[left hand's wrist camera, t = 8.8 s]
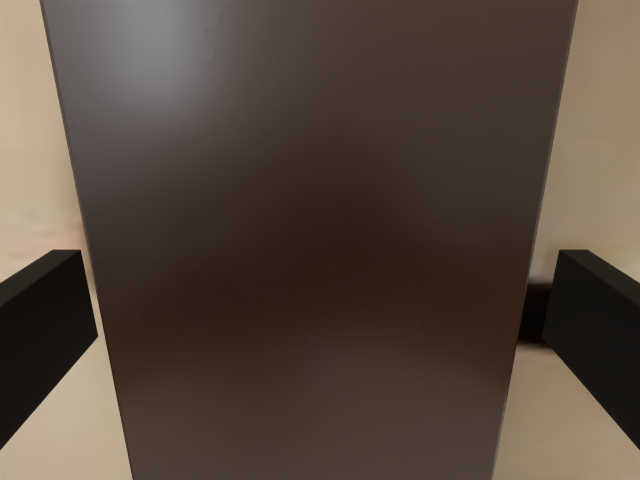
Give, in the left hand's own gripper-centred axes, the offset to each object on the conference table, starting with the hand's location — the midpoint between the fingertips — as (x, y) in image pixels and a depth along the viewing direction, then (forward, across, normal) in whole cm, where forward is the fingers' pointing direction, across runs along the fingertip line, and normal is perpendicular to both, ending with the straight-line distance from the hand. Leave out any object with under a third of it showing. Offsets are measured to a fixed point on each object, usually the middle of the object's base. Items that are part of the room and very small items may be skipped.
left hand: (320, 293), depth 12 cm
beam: (+2, 0, -10) cm, 11 cm away
